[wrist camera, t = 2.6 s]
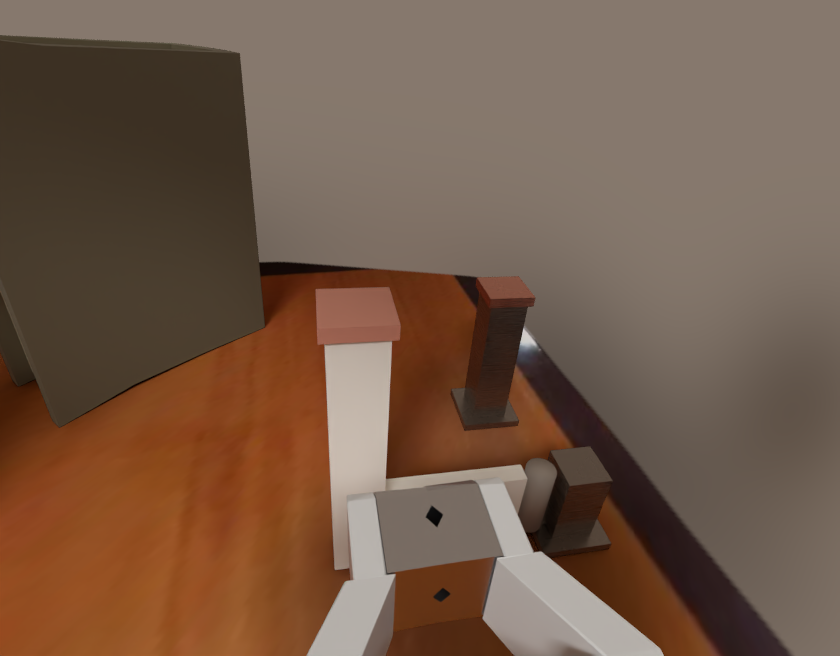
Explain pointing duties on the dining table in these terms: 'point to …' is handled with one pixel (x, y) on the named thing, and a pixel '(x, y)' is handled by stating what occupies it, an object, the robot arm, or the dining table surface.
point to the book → (121, 213)
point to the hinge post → (574, 505)
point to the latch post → (493, 354)
